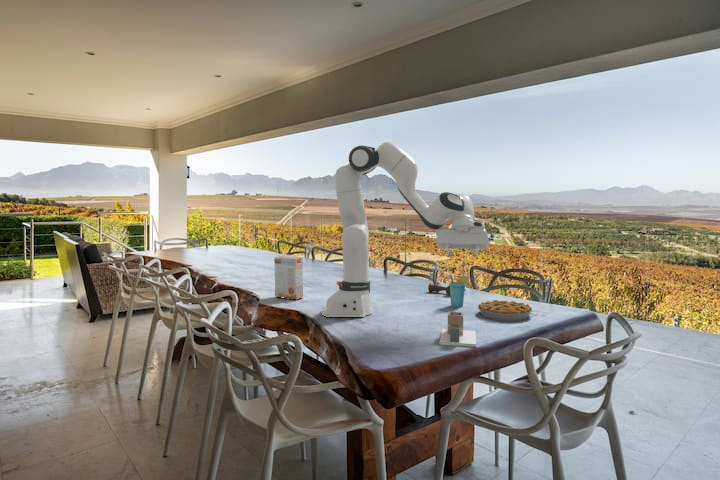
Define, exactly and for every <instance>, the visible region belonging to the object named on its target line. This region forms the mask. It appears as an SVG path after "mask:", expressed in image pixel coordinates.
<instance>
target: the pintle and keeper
mask: <svg viewBox="0 0 720 480" xmlns="http://www.w3.org/2000/svg"><path fill="white" fill-rule="evenodd" d="M454 315H458V313H454ZM459 330H460V325H454V324H451V327H450V342H459Z"/></svg>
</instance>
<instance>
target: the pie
mask: <svg viewBox="0 0 720 480" xmlns="http://www.w3.org/2000/svg"><path fill="white" fill-rule="evenodd" d="M477 309H478V310H479V311H480V314H481V316H483V317H485V318H488V319H492V320H498V321H505V322H515V321H523V320H526V319H527V318H529V316H530V314H531V313H532V312H533V309H532V307H531V306H530V305H529V304H525V303H524V302H520V303H519V302H516V301H507V300H497V299H496V300H492V301H490V300H488V301H487V300H486V301H485V302H484V301H481V302H480V303H479V304H478V306H477Z"/></svg>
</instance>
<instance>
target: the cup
mask: <svg viewBox="0 0 720 480" xmlns="http://www.w3.org/2000/svg"><path fill="white" fill-rule="evenodd" d="M444 278H445V279H446V280H447V279H449V278H450V279H451V282H449V283H448V286H450V296H449V297H450V306H451V307H453V308H462V307H464V301H465V292H466V291H465V290H466V286H467V285H468V284H469V277H468V275H463V274H462V275H461V276H459V278H458V281H454V279H453V276H452V274H449V275H448V276H445V277H444Z"/></svg>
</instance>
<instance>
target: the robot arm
mask: <svg viewBox="0 0 720 480" xmlns="http://www.w3.org/2000/svg"><path fill="white" fill-rule="evenodd" d="M348 162H349V163H348V164H345V165H341V166H339V168H337V169H336V171H335V180H334V181H335V192H336V197H337V198H336V199H337V205H338V212H339V216H340V221H341V226H342V230H343V231H342V234H341V242H342V243H341V244H342V245H341V246H342V248H341V249H342V262H343V263H342V265H343V280H342V281H340V280H337V281H336V285H337V286H338V290H337V291H336V292H334V293H333V294H332V295H331V296H329V297H328V298H327V300H326V304H325V305H326V306H325V308H322V309H321V310H320V314H321V313H322V314H323V315H324V316H326V317H363V318H365V317H366V315H367V316H369V315H372V314H373V313H374V312H373V307H372V304H371V298H370V297H371V295H370V293H371V281H370V262H369V261H370V260H369V259H370V258H369V257H370V256H369V254H370V253H369V249H370V248H369V239H370V238H369V237H370V232H369V225H368V219H367V215H366V214H367V213H366V209H365V202H364V194H363V190H362V189H363V188H362V177H363V176H365V175H367V174H369V173H372V171H373V172H374V170H375V169H377V167H379V168H382V169H383V170H384V171H386V173H388V174H389V176H391V177H392V178H393V180H394V181H395V183H396V185H397V189H398V192H399V193H400V195H401V196H402V197H403V198H404V200H405V201H406V202H407V204H408V205H409V206H410V207H411V208H412V209H413V210H414V212H415V213H416V214H417V215H418V216H419V218H420V219H421V221H422V222H423V224H424V226H426V227H427V228H428V229H431V230H436V247H437V248H438V249H445V252H446V253H447V257H452V256H453V252H452V251H453V250H452V249H461V250H463V249H467V250H472V258H473V257H474V258H475V257H477V254H478V253H479V251H480V250H487V249H488V248H489V245H490V244H489V243H490V242H489V235H488V231H487V230H486V225H485V223H483V222H479V221H476V220H474V217H475V209H474V208H475V207H474V204H473V201H472V199H471V198H470V197H469V196H468V195H464V194H463V195H462V194H461V195H457V194H455V193H453V192H448V191H447V192H446V191H445V192H441V193H440V195H438V196H437V197H436V199H434V200H433V202H432V203H431V204H430V205H428V204H427V203H426V202H425V201H424V200H423V198H422V197H421V196H420V195H419V193H418V192H417V190H416V182H417V178H418V171H419V170H418V164H417V162H416V161H415V159H413V158H412V156H410V155H409V154H408V153H407V152H406V151H404V150H403V149H402V148H400V146H399V147H398V146H397V145H396V144H394V143H392V142H391V141H386V142H383V143H381V144H380V145H379V146H377V148H376V147H373V146H367V145H357V146H355V147H354V148H352V149H351V150H350V152H349V155H348ZM448 220H451V228H449V227H448V228H447V227H446V228H445V227H444V226H445V224H446V223H447V222H448ZM450 249H451V250H450ZM324 316H323V317H324ZM326 317H325V318H326Z"/></svg>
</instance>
